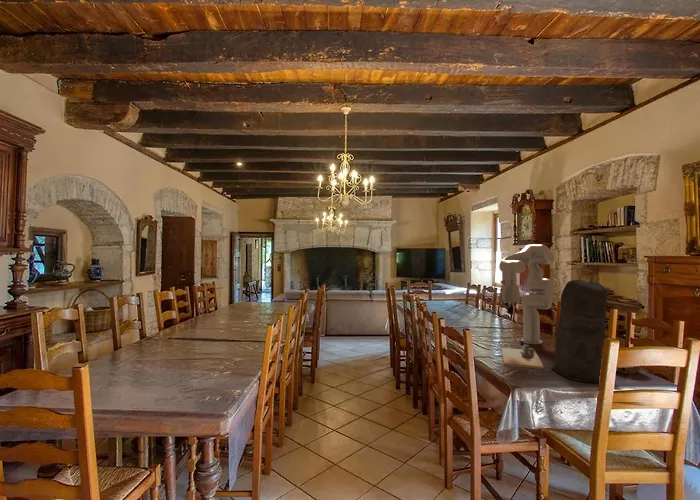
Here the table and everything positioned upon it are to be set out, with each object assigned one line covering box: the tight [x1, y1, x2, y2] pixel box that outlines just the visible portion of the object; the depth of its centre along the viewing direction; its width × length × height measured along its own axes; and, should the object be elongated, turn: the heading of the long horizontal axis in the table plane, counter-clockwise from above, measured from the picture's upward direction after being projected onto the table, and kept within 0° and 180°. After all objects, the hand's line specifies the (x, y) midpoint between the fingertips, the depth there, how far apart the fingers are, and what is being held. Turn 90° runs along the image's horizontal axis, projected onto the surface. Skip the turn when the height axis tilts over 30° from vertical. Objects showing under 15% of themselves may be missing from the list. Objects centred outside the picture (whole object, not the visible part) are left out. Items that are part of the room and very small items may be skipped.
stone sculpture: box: [549, 279, 609, 384], centre depth 171 cm, size 24×21×45 cm
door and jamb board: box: [501, 344, 545, 370], centre depth 203 cm, size 34×18×8 cm, turn 160°
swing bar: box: [518, 340, 526, 352], centre depth 209 cm, size 13×2×4 cm, turn 166°
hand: (510, 313), depth 218 cm, fingers closed
